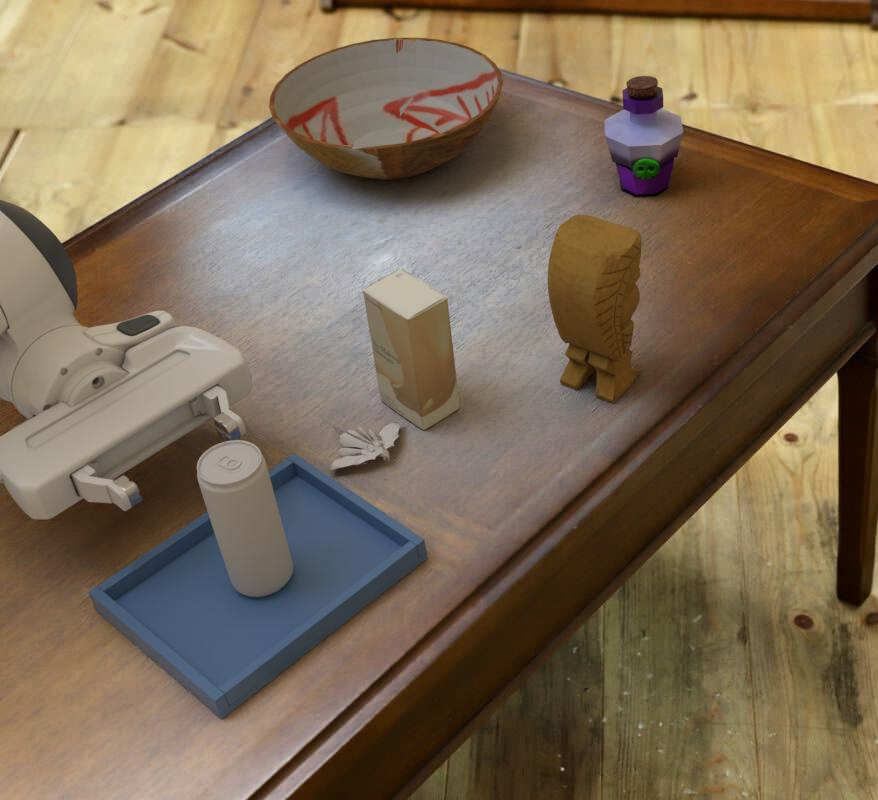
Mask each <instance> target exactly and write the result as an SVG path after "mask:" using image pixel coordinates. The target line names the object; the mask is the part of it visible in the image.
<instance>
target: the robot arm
mask: <svg viewBox="0 0 878 800" xmlns="http://www.w3.org/2000/svg"><path fill="white" fill-rule="evenodd" d="M78 293H79V292H78V278H77V274H76V270H75V267H74V264H73V261H72V260H71V257H70V255H69V253H68V251H67V250H66V248H65V247H64V245H63V243H62V242H61V241H60V239H59V238H58V236H56V234H55V233H54V232H53V231H52V230H51V229H50V228H49V227H48V226H47V225H46V224H45V223H44V222H43V221H42V220H40V219H39V218H38V217H37V216H35V214H33V213H31V212H30V211H29V210H28V209H26V208H25V207H21V206H19V205H17V204H15V203H13V202H9V201H6V200H3V199H0V399H2V400H4V401H7V402H9V403H12V404H13V406H14V407H15V409H16V411H18V412H19V414H20V415H22V416H23V417H24V418H25V419H26V420H24V421H22V422H21V423H19V424H17V425H16V426H14V427H12V428H11V429H10V430H9V431H7V432H6V433H4V434H2V435H1V436H0V484H3V485H4V487H5V489H6V490H7V492H8V494H9V495H10V497H11V498H12V500H13V501H14V502H15V503H16V505H17V506H18V507H19V508H20V510H22V511H23V512H24V513H25V514H26V515H27V516H28V517H29V518H30V519H32V520H52V519H53V518H56V517H57V516H58V515H59V514H62V513H63V512H64V511H66V510H67V509H69V508H70V507H72V506H73V505H75V504H77V503H78V502H80V501H82V500H85V501H86V502H88V503H97V504H115V506H117V507H118V508H120V509H121V510H122V511H124V512H127V511H128V510H130V509H132V508H133V507H135V506H136V505H137V504H139V503H141V502H142V501H143V497H142V495H141V494H140V492H141V490H140V489H139V486H138V485H137V483H135V482H134V481H133V480H130V478H129V477H127V476H126V475H125V473H126V472H128V471H129V470H131V469H132V468H134V467H136V466H137V465H139V464H140V463H142V462H144V461H145V460H147V459H148V458H150V457H152V456H153V455H155V454H157V453H158V452H160V451H161V450H163V449H164V448H166V447H167V446H169V445H171V444H173V443H174V442H175V441H177V440H179V439H180V438H182V437H184V436H185V435H186V434H188V433H190V432H191V431H193V430H195V429H196V428H198V427H200V426H202V425H203V424H204V423H206V422H207V421H209V420H211V419H213V423H214V426H216V430H215V431H216V433H217V436H218V437H219V438H221V439H222V440H225V442H226V441H232V440H239V438H241V437H242V436H245V435H246V434H247V430H246V426H245V423H244V421H243V419H242V418H241V417H240V415H238V414H237V413H235V412H234V411H232V406H233V405H235V404H236V403H237V402H239V401H242V400H243V399H244V398H246V397H247V396H249V395H250V394H251V392H252V386H253V383H252V374H251V370H250V366H249V363H248V361H247V359H246V356H245V355H244V353H243V352H242V351H241V350H240V349H238V348H237V347H236V346H234V345H232V344H231V343H229V342H228V341H225V340H224V339H222V338H221V337H218V336H216V335H215V334H213V333H210V332H209V331H207V330H204V329H201V328H199V327H195V326H189V325H180V326H178V324H177V323H176V321H175V318H174V316H173V315H172V314H171V313H170V312H168V311H166V310H155V311H150V312H148V313H144V314H141V315H138V316H135V317H131V318H129V319H126V320H122V321H118V322H112V323H108V324H101V325H96V326H91V327H88V326H86V325H83V324H81V323H80V322H79V321H78V320H77V319H76V317H75V315H74V313H75V311H77V308H78V299H79V298H78V296H79V294H78Z"/></svg>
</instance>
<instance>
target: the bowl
mask: <svg viewBox="0 0 878 800" xmlns="http://www.w3.org/2000/svg"><path fill="white" fill-rule="evenodd" d="M503 81H504V80H503V74H502V72H501V70H500V69H499V67H498V65H497V64H496V62H494V61H493V60H492V59H491V58H490V57H488V56H487V54H484V53H483V52H481V51H478V50H476V49H475V48H473V47H470V46H467V45H464V44H461V43H459V42H454V41H450V40H444V39H438V38H427V37H388V38H380V39H378V38H377V39H371V40H365V41H361V42H355V43H351V44H348V45H344V46H341V47H336V48H333V49H330V50H328V51H325V52H323V53H320V54H318V55H317V54H316V55H315V56H313V57H311V58H309V59H307V60H305V61H303V62H301V63H299V64H298V65H297V66H295V67H294V68H292V69H291V70H290V71H288V72H287V73H285V74H284V76H283V77H281V79H280V80H278V82H277V83H276V84H275V86H274V88H273V89H272V92H271V93H270V95H269V102H268V109H269V110H270V115H271V117H272V119H273V120H274V121H275V123H276V124H277V125H278V126H279V128H280V129H281V130H282V131H283V132H284V134H285V135H286V136H287V137H288V138H289V139H290V141H292V142H293V143H294V144H295V146H297V148H299V149H300V150H302V151H303V152H304V153H306V154H307V155H308V156H310V157H311V158H313V159H314V160H316V161H317V162H319V163H321V164H323V165H325V166H327V167H328V168H331V169H333V170H335V171H337V172H340V173H343V174H347V175H351V176H356V177H362V178H366V179H372V180H373V179H375V180H381V181H383V180H402V179H408V178H413V177H415V176H418V175H422V174H425V173H426V172H429V171H430V170H432V169H435V168H437V167H439V166H442V165H443V164H446V163H447V162H449V161H450V160H452V159H453V158H455V157H457V156H458V155H459V154H461V153H462V152H463V151H464V150H465V149H466V148H467V147H469V145H470V144H471V143H472V142H473V141H474V140H475V139H476V138H477V137H478V136H479V134H480V133H481V131H482V130H483V129H484V128H485V126H486V124H487V122H488V121H489V120H490V118H491V116H492V115H493V112H494V110H495V108H496V106H497V103H498V102H499V99H500V96H501V92H502V88H503V85H504V82H503Z"/></svg>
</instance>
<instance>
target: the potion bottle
mask: <svg viewBox="0 0 878 800" xmlns="http://www.w3.org/2000/svg"><path fill="white" fill-rule="evenodd" d="M658 85H659V81H658V78H657V77H655V76H651V75H638V76H634V77H631V78H630V79H628V80H627V81H626V87H625V88H623V89H622V90H621V91H622V110H620V111H618V112H616V113H615V114H612V115H611V116H609V117H607V118H605V119H604V135H605V136H604V137H605V140H606V143H607V148H608V150H609V155H610V158H611V161H612V163H614V164H615V166H616V167H615V168H616V170H617V173H618V177H619V187H620V191H621V192H624V193H625V194H628V195H631V196H632V197H634V198H645V197H647V198H648V197H649V198H650V197H657V196H659V195H661V194H662V193H664V192H666V191H667V190H669V189H670V188H671V185H670V181H671V177H672V172H673V168H674V164H675V158H677V157H678V156H679V151H680V148H681V143H682V139H683V135H684V129H683V121H682V116H681V115H678V114H677V113H673V112H671V111H669V110H667V109H664V91H663V88H662V87H660V86H658Z"/></svg>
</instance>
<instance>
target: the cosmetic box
mask: <svg viewBox="0 0 878 800" xmlns="http://www.w3.org/2000/svg"><path fill="white" fill-rule="evenodd" d="M362 293H363V299H364V300H363V301H364V306H365V312H366V317H367V323H368V329H369V336H370V343H371V349H372V354H373V361H374V367H375V374H376V380H377V386H378V392H379V398H380V401H382V402H383V403H385V405H387V406H388V407H390V408H391V409H392V410H394V411H395V412H396V413H397V414H399V415H400V416H402V417H403V418H404V419H406V420H408V421H409V422H411V423H412V424H413V425H415V426H416V427H418V428H419V429H420V430H422V431H425V430H428V428H430V427H432V426H434V425H435V424H437V423H438V422H440V421H442V420H443V419H445V418H447V417H448V416H450V415H451V414H453V413H454V412H457V411H458V410H459V409H460V407H461V405H460V398H459V397H460V396H459V387H458V379H457V371H456V370H457V369H456V364H455V363H456V362H455V361H456V360H455V353H454V343H453V336H452V327H451V319H450V310H449V309H450V308H449V301H448V300H449V299H448V296H447V295H445V294H444V293H442V292H440V291H439V290H437V289H436V288H434V287H432V285H429V284H428V283H427V282H426V281H424V280H422V279H420V278H418V277H417V276H415V275H413V274H412V273H410V272H409V271H408V270H406V269H404V268H402V267H400V268H397V269H396V270H394V271H392V272H391V273H388V274H387V275H385V276H383V277H382V278H379V279H378V280H376V281H374V282H372V283H371V284H369V285H368V286H366V287H364V288H363V289H362Z"/></svg>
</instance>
